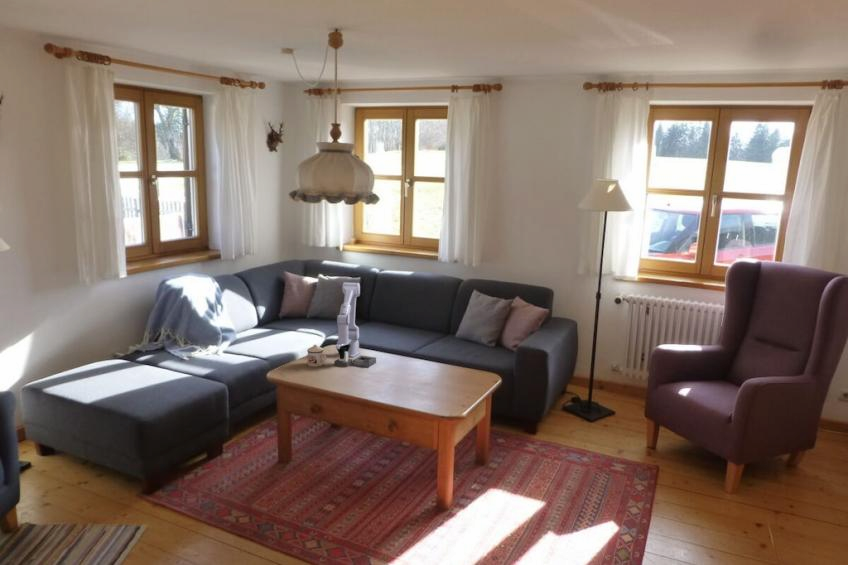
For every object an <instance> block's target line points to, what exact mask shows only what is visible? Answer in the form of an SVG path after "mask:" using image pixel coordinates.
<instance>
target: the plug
mask: <svg viewBox="0 0 848 565" xmlns="http://www.w3.org/2000/svg"><path fill="white" fill-rule="evenodd" d="M338 359H339V361H343V362H347V361H348V359H349V356H348V352H347V351H345V355H344V359H340V356H339V355H338Z"/></svg>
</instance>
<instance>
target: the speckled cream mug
mask: <svg viewBox="0 0 848 565" xmlns="http://www.w3.org/2000/svg"><path fill="white" fill-rule="evenodd" d="M326 361H327V355H326V354H325V353H324V349H323V348H322V347H320V346H318V344H313V345H312V347H309V348H307V365H308V366H309V367H315V368H316V367H317V368H318V367H321V366H323V365H324V362H326Z"/></svg>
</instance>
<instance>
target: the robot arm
mask: <svg viewBox="0 0 848 565" xmlns="http://www.w3.org/2000/svg"><path fill="white" fill-rule="evenodd" d="M341 288H342V293H343V294H344V296H343V297H344V298H343V303H342V304H341V305H340V311H339V314H338V315H337V318H336V324H337V329H338V330H337V331H338V332H337V333H338V336H337V337H338V338H337V340H338V341H336V345H335V349H336V351H337V352H338V357H339V356H340V359H344V355H345V351H347V352H348V357H349V358H350V357H351V358H354V357H356V356H359V354H361V352H360V342H359V338H360V328H359V326H358V325H356V322H355V321H356V307H357V298H359V297H360V295H361V284H360V282H345V281H343V283H342V287H341Z"/></svg>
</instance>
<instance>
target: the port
mask: <svg viewBox="0 0 848 565" xmlns="http://www.w3.org/2000/svg"><path fill="white" fill-rule="evenodd" d="M376 363H377V357H376V356H375V357H374V356H368V355H358V357H356V358H354V359H353V364H352V366H356V367H362V368H368V369H369V368H370V367H371V366H373V365H375V364H376Z"/></svg>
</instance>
